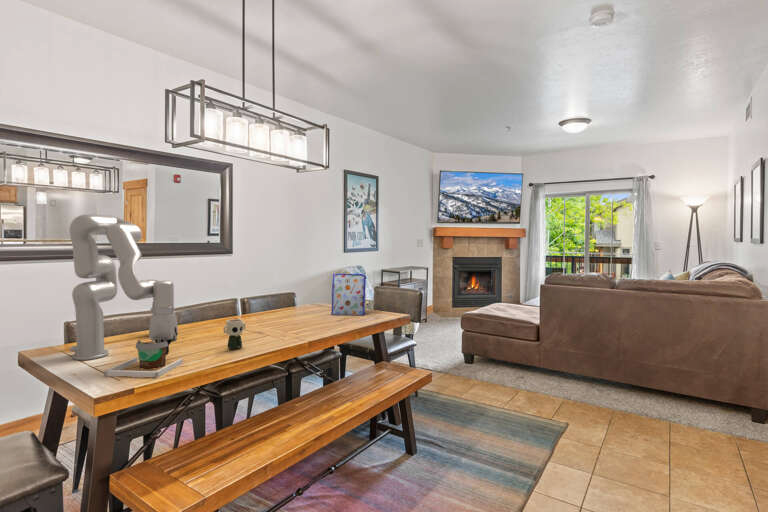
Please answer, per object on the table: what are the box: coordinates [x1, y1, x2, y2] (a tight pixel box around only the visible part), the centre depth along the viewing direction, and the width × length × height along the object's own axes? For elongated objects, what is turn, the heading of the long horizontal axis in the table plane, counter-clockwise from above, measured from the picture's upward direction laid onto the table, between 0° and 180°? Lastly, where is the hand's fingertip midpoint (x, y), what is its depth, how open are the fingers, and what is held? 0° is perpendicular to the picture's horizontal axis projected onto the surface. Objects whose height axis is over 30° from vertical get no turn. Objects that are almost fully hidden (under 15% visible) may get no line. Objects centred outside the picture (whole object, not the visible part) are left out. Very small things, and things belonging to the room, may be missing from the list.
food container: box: [134, 339, 168, 370], centre depth 163 cm, size 12×6×10 cm, turn 85°
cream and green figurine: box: [222, 318, 246, 350], centre depth 192 cm, size 11×7×13 cm, turn 141°
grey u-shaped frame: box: [104, 356, 184, 378], centre depth 161 cm, size 20×17×2 cm
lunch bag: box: [330, 272, 367, 316], centre depth 280 cm, size 23×17×27 cm
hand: (164, 355), depth 173 cm, fingers closed
